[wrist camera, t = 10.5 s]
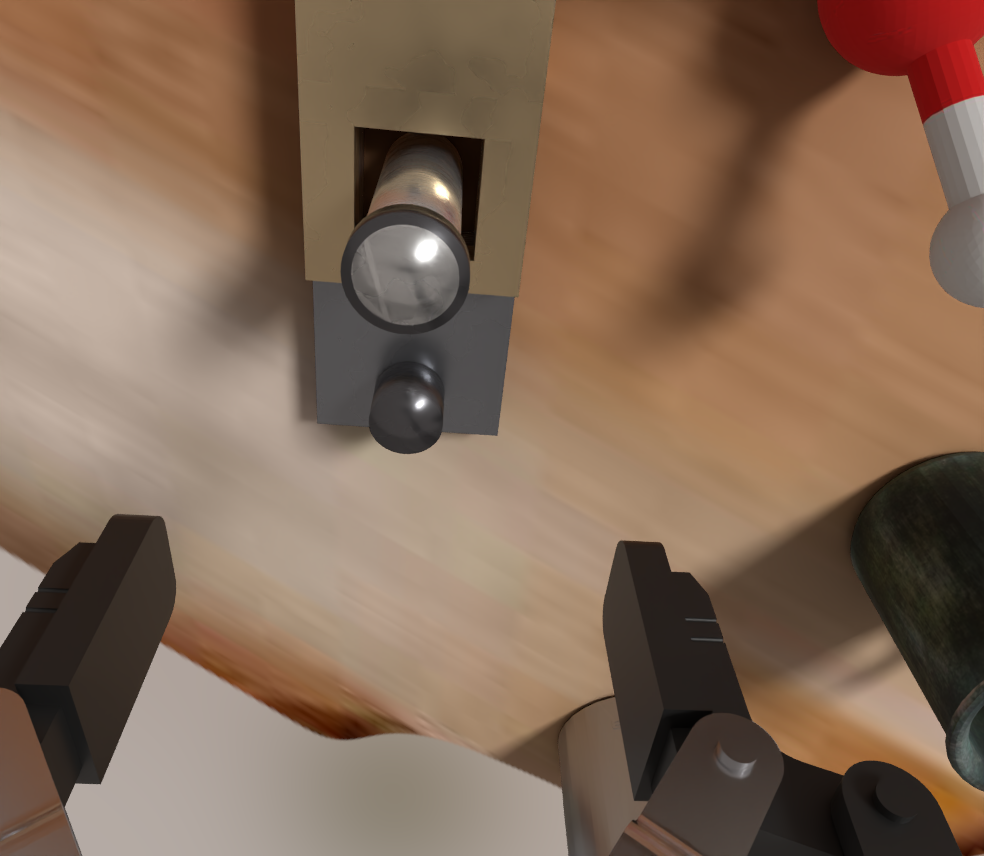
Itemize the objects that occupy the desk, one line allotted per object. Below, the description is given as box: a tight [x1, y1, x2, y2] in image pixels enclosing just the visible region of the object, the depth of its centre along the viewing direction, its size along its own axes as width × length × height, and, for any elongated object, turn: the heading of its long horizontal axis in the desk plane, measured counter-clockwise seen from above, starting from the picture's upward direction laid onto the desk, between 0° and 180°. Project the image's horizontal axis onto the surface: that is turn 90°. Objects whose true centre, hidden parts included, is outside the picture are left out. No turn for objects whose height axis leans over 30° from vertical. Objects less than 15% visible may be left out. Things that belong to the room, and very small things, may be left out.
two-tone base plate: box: [295, 0, 556, 454], centre depth 28 cm, size 22×8×5 cm, turn 174°
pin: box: [340, 132, 470, 334], centre depth 26 cm, size 4×4×10 cm
